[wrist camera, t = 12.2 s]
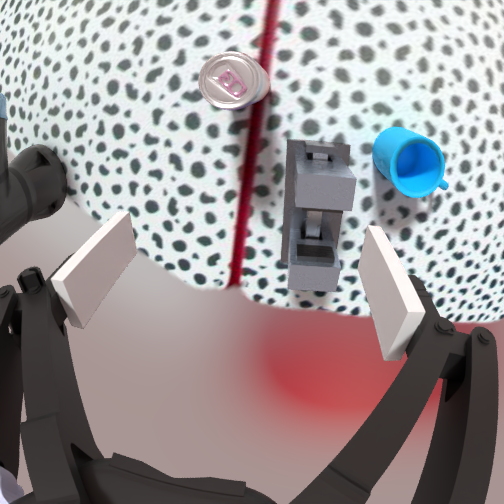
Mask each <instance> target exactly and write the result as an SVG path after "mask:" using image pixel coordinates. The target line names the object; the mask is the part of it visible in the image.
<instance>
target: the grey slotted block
mask: <svg viewBox="0 0 504 504" xmlns="http://www.w3.org/2000/svg"><path fill="white" fill-rule="evenodd" d="M349 155H350V145H349V144H342V143H332V142H322V141H310V140H296V139H287V155H286V178H285V198H284V216H283V233H282V248H281V261H288V246H289V235H290V229H300V233H301V239H311V240H320V239H321V231H328V232H332V236H333V239H334V243H335V247H336V249H337V243H338V237H339V231H340V224H341V218H342V213H343V211H352V207H353V200H354V193H355V186H356V177H355V176H354V174H353V173H352V172H351V170H350V169H349V168H348V164H349Z"/></svg>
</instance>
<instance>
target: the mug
mask: <svg viewBox="0 0 504 504" xmlns="http://www.w3.org/2000/svg"><path fill="white" fill-rule="evenodd" d="M373 159H374V163H375V165H376V167H377V168H378V170H379V171H380V172H381V173H382V174H383V175H384V176H385V177H386V178H387V179H388V180H389V181H390V182H391V183H392V184H393V185H394V186H395V187H396V188H397V189H398V190H399V191H400V192H402V193H403V194H404V195H407V196H409V197H413V198H421V197H424V196H427V195H429V194H430V193H432V192H433V191H435V190H436V188H437V187H440V188H441V189H443V190H447V189H448V186H449V185H448V183H447V182H446V181H444V180H443V179H442V178H443V176H444V170H445V162H444V156H443V154H442V152H441V150H440V148H439V147H438V146H437V145H436V144H435V143H434V142H433V141H432V140H430V139H428V138H426V137H424V136H421V135H419V134H417V133H414V132H412V131H410V130H407V129H405V128H402V127H391V128H388V129H386V130H384V131H383V132H381V133H380V134H379V136H378V137H377V138H376V140H375V142H374V145H373Z"/></svg>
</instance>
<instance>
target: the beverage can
mask: <svg viewBox="0 0 504 504" xmlns="http://www.w3.org/2000/svg"><path fill="white" fill-rule="evenodd" d="M199 88H200V91H201V93H202V95H203V97H204V98H205V99H206V100H207V101H208V102H209V103H210V104H212V105H213V106H215V107H217V108H220V109H224V110H237V109H241V108H244V107H246V106H249V105H251V104H254V103H256V102H258V101H260V100H262V99H263V98H264V97H265V96H266V95H267V93H268V91H269V88H270V79H269V76H268V74H267V73H266V71H265V70H264V69H263V68H262V67H261V66H260V65H259V64H258V63H257V62H256V61H255V60H254V59H253V58H251V57H250V56H248V55H246V54H244V53H241V52H236V51H229V52H223V53H220V54H217V55H215V56H213V57H212V58H210V59H209V60H208V61H207V62H206V63H205V64H204V65H203V67H202V69H201V71H200V74H199Z"/></svg>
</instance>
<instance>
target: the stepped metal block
mask: <svg viewBox="0 0 504 504" xmlns="http://www.w3.org/2000/svg"><path fill="white" fill-rule="evenodd" d="M340 270H341V266H340V262H339V259H338V255H337V251H336V247H335V243H334V239H333V236H332V232H328V231H321V239H320V240H311V239H301V233H300V229H290V235H289V246H288V289H291V290H307V291H325V292H336V288H337V283H338V279H339V274H340Z"/></svg>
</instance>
